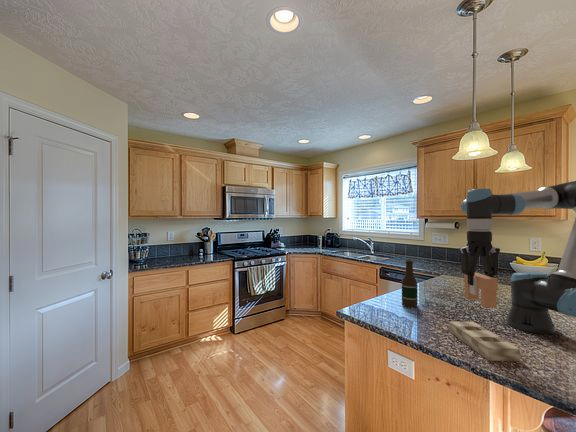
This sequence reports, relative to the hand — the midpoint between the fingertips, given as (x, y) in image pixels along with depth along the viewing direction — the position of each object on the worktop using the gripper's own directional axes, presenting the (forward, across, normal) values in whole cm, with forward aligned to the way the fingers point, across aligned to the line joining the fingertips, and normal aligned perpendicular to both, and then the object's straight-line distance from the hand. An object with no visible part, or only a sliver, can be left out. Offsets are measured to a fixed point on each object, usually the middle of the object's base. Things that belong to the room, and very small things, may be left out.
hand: (479, 293), depth 96 cm
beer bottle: (+19, +8, -42) cm, 47 cm away
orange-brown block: (+3, 0, 0) cm, 3 cm away
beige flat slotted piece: (+19, 0, 0) cm, 19 cm away
